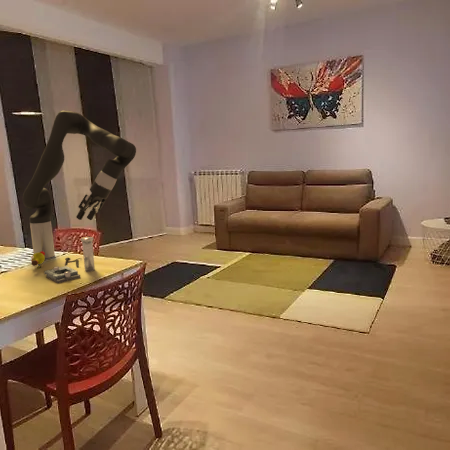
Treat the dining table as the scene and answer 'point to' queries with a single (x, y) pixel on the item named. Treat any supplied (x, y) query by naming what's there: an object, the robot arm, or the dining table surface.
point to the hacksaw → (72, 261)
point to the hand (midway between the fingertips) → (83, 219)
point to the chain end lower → (66, 278)
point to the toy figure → (38, 259)
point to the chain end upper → (56, 270)
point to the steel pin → (88, 253)
